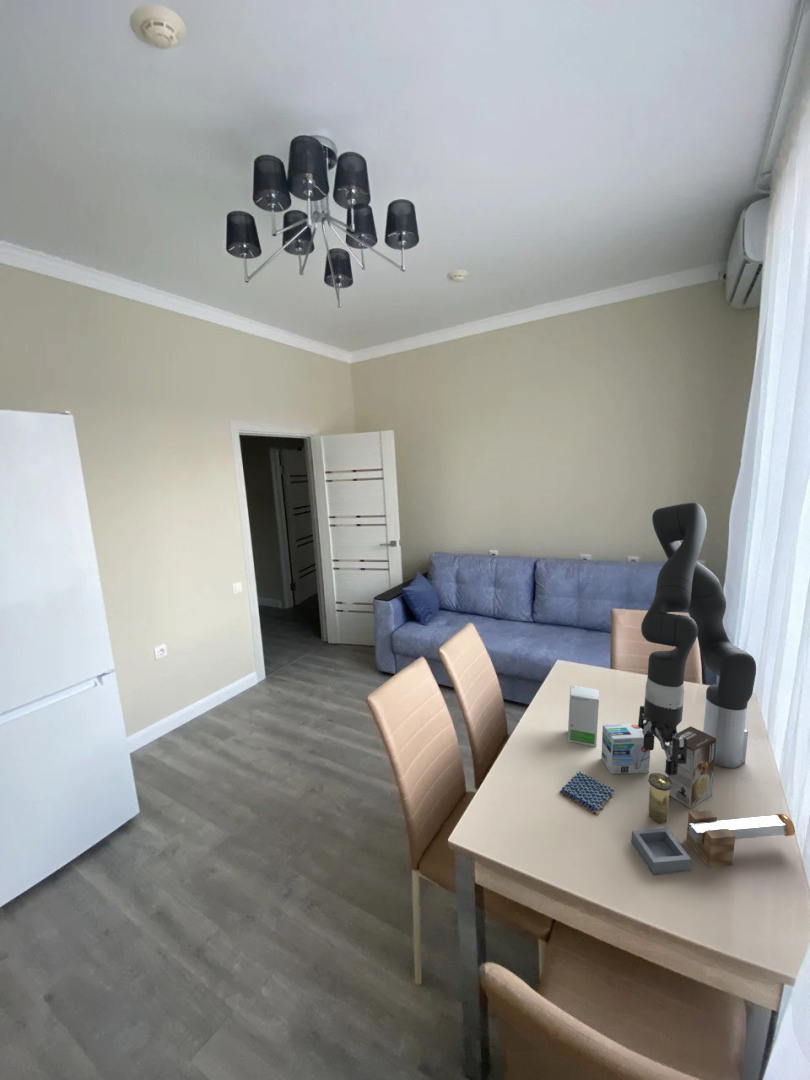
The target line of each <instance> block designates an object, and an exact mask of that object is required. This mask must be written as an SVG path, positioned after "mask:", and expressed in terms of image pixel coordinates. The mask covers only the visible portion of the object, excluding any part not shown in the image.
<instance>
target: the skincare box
mask: <svg viewBox="0 0 810 1080" xmlns="http://www.w3.org/2000/svg"><path fill="white" fill-rule="evenodd" d="M569 687H570V688H569V702H568V704H569V707H568V725H567V726H568V727H567V728H568V729H567V741H568V742H570V743H575V744H580V745H586V746H589V747H590V746H591V747H595V748H596V747H597V741H598V726H599V725H598V723H599V722H598V721H599V706H600V691H599V689H595V688H589V687H586V686H577V685H573V684H572V685H570V686H569Z"/></svg>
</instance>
